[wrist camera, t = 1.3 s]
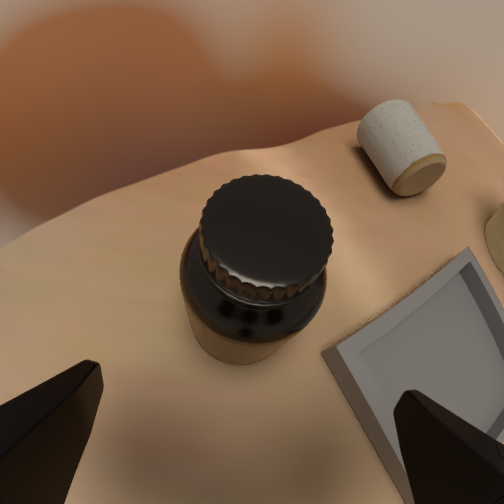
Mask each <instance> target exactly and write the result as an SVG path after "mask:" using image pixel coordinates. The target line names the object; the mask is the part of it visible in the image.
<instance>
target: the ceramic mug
mask: <svg viewBox="0 0 504 504" xmlns="http://www.w3.org/2000/svg"><path fill="white" fill-rule="evenodd" d="M357 139H358V141H359V143H360V145H361V146H362V147H363V149H364V150H365V152H366V153H367V155H368V156H369V158H370V159H371V161H372V162H373V164H374V165H375V167H376V168H377V170H378V171H379V173H380V174H381V176H382V178H383V179H384V181H385V183H386V184H387V185H388V187H389V188H390V189H391V190H392V191H393V192H394V193H395V194H397V195H399V196H411V195H414V194H417V193H419V192H421V191H423V190H425V189H427V188H428V187H430V186H431V185H432V184H434V183H435V182H436V181H437V180H438V179H439V178H440V177H441V176H442V174H443V173H444V171H445V168H446V158H445V156H444V153H443V151H442V149H441V147H440V145H439V144H438V142H437V141H436V139H435V138H434V137H433V135H432V134H431V132H430V131H429V129H428V128H427V127H426V125H425V124H424V122H423V121H422V120H421V118H420V117H419V115H418V114H417V113H416V111H415V110H414V109H413V107H411V105H410V104H409V103H408V102H406V101H403V100H390V101H386V102H383V103H381V104H379V105H378V106H376V107H375V108H373V109H372V110H370V111H369V113H367V114H366V116H365V117H364V119H362V121H361V122H360V124H359V127H358V130H357Z"/></svg>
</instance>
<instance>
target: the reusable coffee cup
mask: <svg viewBox="0 0 504 504" xmlns="http://www.w3.org/2000/svg"><path fill="white" fill-rule="evenodd" d="M485 237H486V242H487V246H488V249H489V252H490V254H491V256H492V258H493V260H494V262H495V264H496V265H497V267H498V268H499V270H500V271H501V272H502V273H503V275H504V203H503V204H502V205H501V207H500V208H499V209H498V210H497V211H496V213H495V214H494V215H493V216H492V217H491V219H490V220H489V221H488V222H487V224H486V227H485Z"/></svg>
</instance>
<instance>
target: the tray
mask: <svg viewBox="0 0 504 504" xmlns="http://www.w3.org/2000/svg"><path fill="white" fill-rule="evenodd" d="M321 354H322V356H323V358H324V360H325V361H326V363H327V365H328V367H329V368H330V370H331V372H332V374H333V375H334V377H335V379H336V381H337V382H338V384H339V386H340V388H341V390H342V391H343V393H344V395H345V397H346V398H347V400H348V402H349V404H350V405H351V407H352V409H353V411H354V413H355V414H356V416H357V418H358V420H359V421H360V423H361V425H362V427H363V429H364V430H365V432H366V434H367V436H368V437H369V439H370V441H371V443H372V445H373V446H374V448H375V450H376V452H377V454H378V455H379V457H380V459H381V461H382V463H383V464H384V466H385V468H386V470H387V472H388V473H389V475H390V477H391V479H392V481H393V482H394V484H395V486H396V488H397V490H398V491H399V493H400V495H401V497H402V499H403V501H404V502H405V504H414V500H413V496H412V492H411V488H410V484H409V481H408V477H407V473H406V470H405V466H404V463H403V459H402V456H401V452H400V447H399V441H398V436H397V431H396V426H395V421H394V416H393V411H394V408H395V406H396V404H397V402H398V401H399V399H400V397H401V395H402V394H403V392H404V391H406V390H413V389H416V390H418V391H420V392H421V393H423V394H425V395H426V396H428V397H429V398H431V399H432V400H434V401H435V402H437V403H438V404H440V405H442V406H443V407H445V408H446V409H448V410H449V411H451V412H452V413H454V414H456V415H457V416H459V417H460V418H462V419H463V420H465V421H467V422H468V423H470V424H471V425H473V426H475V427H476V428H478V429H479V430H481V431H483V432H484V433H486V434H487V435H489V436H491V437H492V438H493V439H496V440H497V441H499V442H500V443H503V441H504V309H503V307H502V305H501V303H500V301H499V299H498V297H497V295H496V293H495V291H494V289H493V287H492V286H491V284H490V282H489V280H488V278H487V276H486V275H485V273H484V271H483V269H482V268H481V266H480V264H479V263H478V261H477V259H476V258H475V256H474V254H473V253H472V251H471V249H470V248H469V246H468V247H467V248H465V249H464V250H463V251H462V252H460V253H459V254H458V255H456V256H455V257H454V258H452V259H451V260H450V261H449V262H448V263H446V264H445V265H444V266H443V267H442V268H440V269H439V270H438V271H437V272H436V273H434V274H433V275H432V276H431V277H429V278H428V279H427V280H426V281H424V282H423V283H422V284H421V285H419V286H418V287H417V288H415V289H414V290H413V291H411V292H410V293H409V294H407V295H406V296H405V297H403V298H402V299H401V300H399V301H398V302H397V303H395V304H394V305H393V306H391V307H390V308H388V309H387V310H386V311H384V312H383V313H381V314H380V315H379V316H377V317H376V318H374V319H373V320H371V321H370V322H368V323H367V324H365V325H364V326H362V327H361V328H359V329H358V330H356V331H355V332H353V333H352V334H350V335H349V336H347V337H346V338H344V339H343V340H341V341H339V342H338V343H336V344H335V345H333V346H331V347H330V348H328V349H327V350H325V351H323V352H322V353H321Z"/></svg>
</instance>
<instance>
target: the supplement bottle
mask: <svg viewBox="0 0 504 504" xmlns="http://www.w3.org/2000/svg"><path fill="white" fill-rule="evenodd" d="M330 222H331V221H330V218H329V217H328V215H327V214H326V209H325V208H324V207H323V206H321V204H320V202H319V200H318V199H317V198H315V197H313V195H312V194H311V192H309V191H307V190H305V189H304V188H303V187H302V186H301V185H299V184H295V183H294V182H292V181H291V180H288V179H283V178H282V177H279V176H271V175H268V174H266V175H257V174H255V175H252V176H243V177H241V178H239V179H233V180H231V182H229V183H226V184H223V185H222V186H221V188H220V189H218V190H216V191H214V193H213V196H212V197H211V198H209V199H208V200H207V204H206V206H205V208H204V209H203V210H202V218H201V220H200V223H199V227H198V228H197V229H196V230H195V231H194V232H193V234H192V235H191V236H190V238H189V239H188V241H187V243H186V245H185V248H184V250H183V253H182V257H181V261H180V271H179V273H180V285H181V290H182V294H183V298H184V302H185V306H186V309H187V313H188V317H189V320H190V324H191V327H192V330H193V332H194V335H195V337H196V339H197V341H198V342H199V343H200V345H201V346H202V347H203V348H204V349H205V350H206V351H207V352H208V353H209V354H210V355H212V356H213V357H215V358H217V359H219V360H221V361H223V362H226V363H230V364H237V365H245V364H252V363H256V362H259V361H261V360H263V359H265V358H267V357H269V356H270V355H272V354H273V353H274V352H276V351H277V350H278V349H279V348H281V347H282V346H283V345H284V344H286V343H287V342H288V341H289V340H290V339H292V338H293V337H294V336H295V335H297V334H298V333H299V332H300V331H301V330H302V329H303V328H304V327H306V326H307V325H308V323H309V322H310V321H311V320H312V319H313V317H314V316H315V315H316V313H317V312H318V310H319V308H320V306H321V304H322V302H323V299H324V296H325V292H326V286H327V270H326V265H327V262H328V258H329V257H330V255H331V253H332V247H331V246H332V244H333V242H334V240H333V236H332V233H333V228H332V226H331V225H330Z"/></svg>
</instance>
